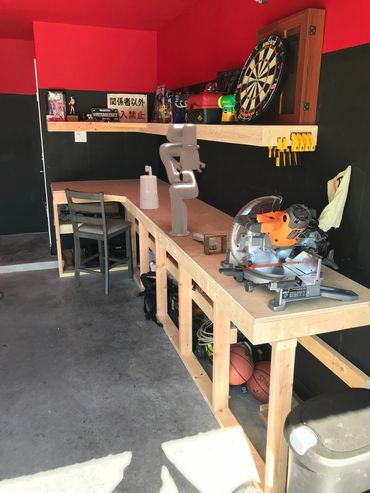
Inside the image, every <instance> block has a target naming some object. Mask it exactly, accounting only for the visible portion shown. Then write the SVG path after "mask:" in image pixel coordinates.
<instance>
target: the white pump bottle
mask: <svg viewBox="0 0 370 493" xmlns="http://www.w3.org/2000/svg"><path fill="white" fill-rule="evenodd" d="M144 167H145V172H147V173H148V175H147V174H145V175H140V176H139V177H140V178H139V179H140V183H139V184H140V187H139V189H140V190H139V191H140V192H139V200H140V202H139V208H140V209H142V210H155V209H159V208H160V206H159V205H160V204H159V197H158V196H159V195H158V182H157V176H156V175H153V174H152V167H151V166H149V165H145V166H144Z"/></svg>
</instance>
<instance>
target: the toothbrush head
mask: <svg viewBox="0 0 370 493" xmlns="http://www.w3.org/2000/svg"><path fill="white" fill-rule="evenodd" d="M192 239H193V240H195V241H199V242H203V243H204V234H201V233H200V232H196V233H195V232H194V233H193V234H192ZM217 245H218V242H216V238H209V250H210V249H211V250H215V249H217Z"/></svg>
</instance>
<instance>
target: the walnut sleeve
mask: <svg viewBox="0 0 370 493" xmlns="http://www.w3.org/2000/svg"><path fill="white" fill-rule="evenodd" d="M203 235H204V242H203V254H204V255H205V256H207V255H210V249H209V238H215V239H216V238H220V252H221V253H223V254H227V252H228V251H227V248H228V246H227V242H228V235H227V233H226V232H213V233H204V234H203Z"/></svg>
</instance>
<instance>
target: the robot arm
mask: <svg viewBox="0 0 370 493" xmlns="http://www.w3.org/2000/svg"><path fill="white" fill-rule="evenodd" d="M197 128H198V127H197V125H196V124H194V123H172V124H170V125H169V126H168V127H167V133H166V139H167V141H168V142H166V143H162V144H161V145H160V146H159V156H160V159H161V161H162V163H163V165H164V166H165V170H166V174H167V179H168V181H169V184H171V185H170V186H169V190H168V191H169V198H170V205H171V206H170V207H171V209H170V210H171V218H170V219H171V231H169V233H168V234H169V236H172V237H177V238H178V237H179V238H180V237H181V238H182V237H187V236H189V235H190V234H191V233H190V231H189V230H188V211H187V210H188V206H187V204H186V203H185V202H184V200H186V199H187V200H188V199H189V200H190V199H195V198H197V197H198V196H199V188H198V182H197V180H198V181H200V180H201V178H202V175H201V173H202V172H203V171H204V170H205V167H206V164H205V163H203V162H202V161H200V154H199V150H198V149H200V145H198V144H197V143H198V142H197V141H198V139H197V137H198V136H197V135H198V133H197V132H198V131H197ZM174 157H180V158H179V162H178V161H177V160H176V159H175V158H174ZM200 165H201V167H200ZM193 170H196V171H197V172H196V177H195V173H194V171H193Z"/></svg>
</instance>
